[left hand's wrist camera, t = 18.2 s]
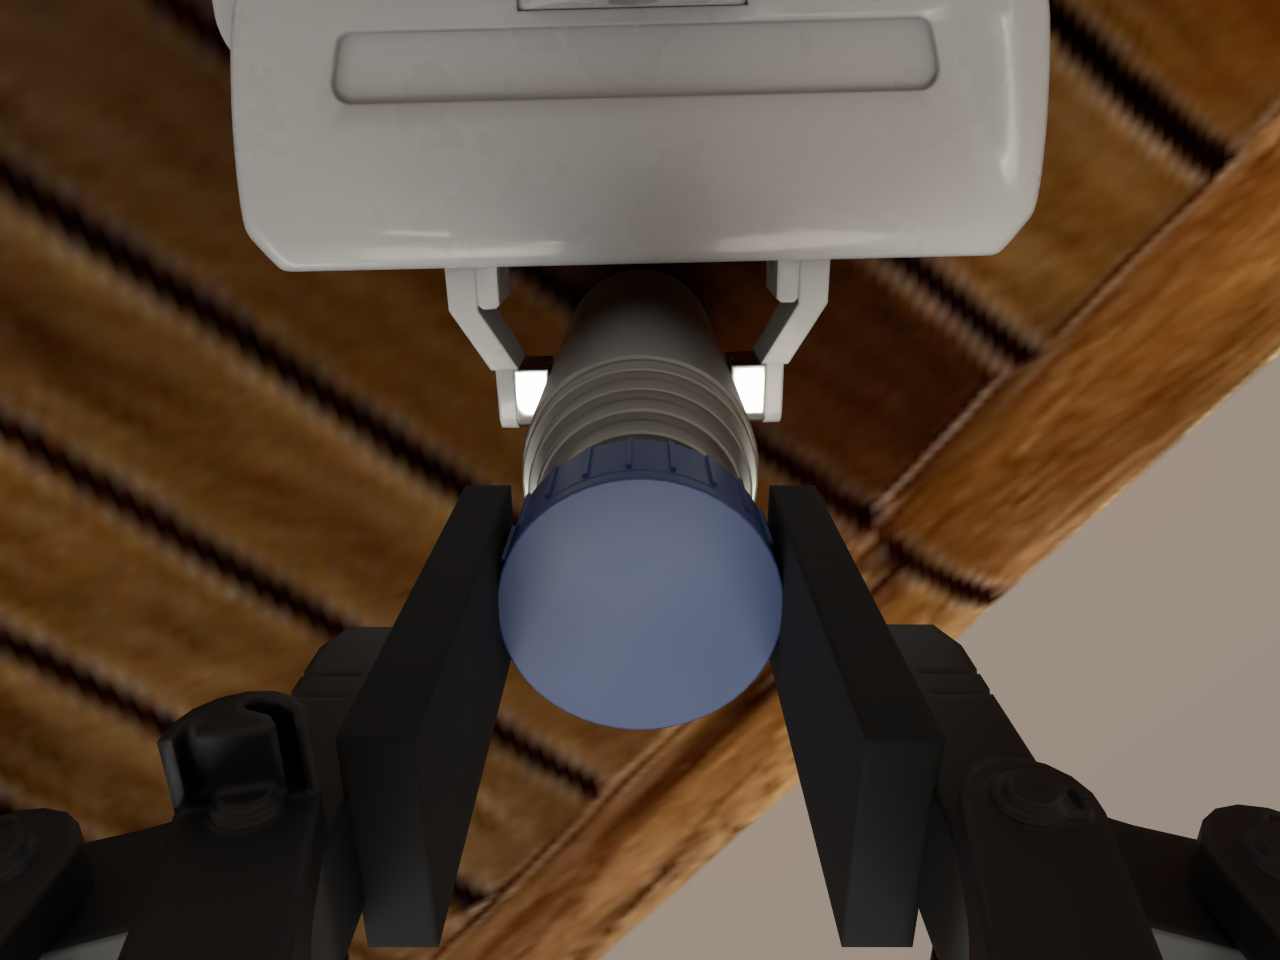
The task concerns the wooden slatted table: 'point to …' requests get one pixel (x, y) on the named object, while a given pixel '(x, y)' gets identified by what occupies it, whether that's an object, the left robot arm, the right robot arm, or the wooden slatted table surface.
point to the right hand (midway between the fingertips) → (642, 419)
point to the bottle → (640, 381)
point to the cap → (640, 586)
